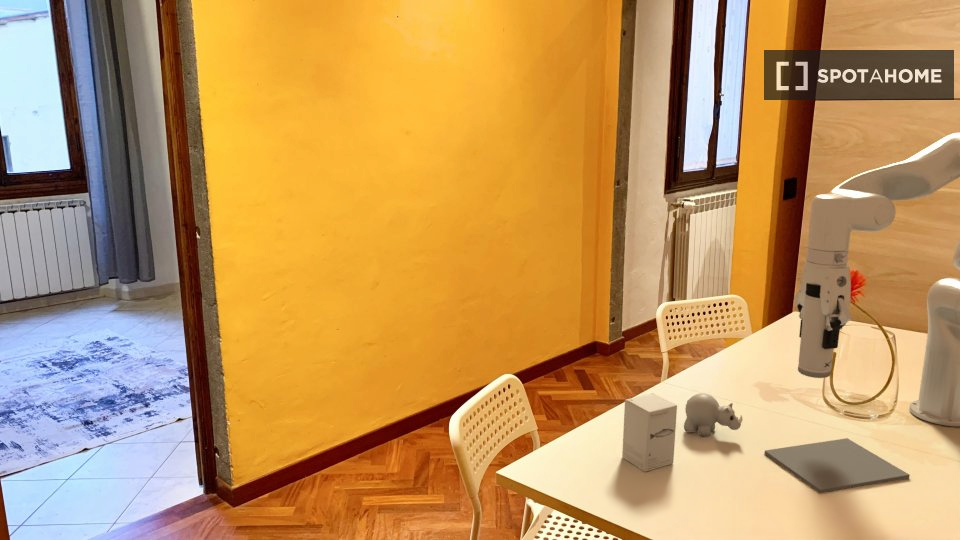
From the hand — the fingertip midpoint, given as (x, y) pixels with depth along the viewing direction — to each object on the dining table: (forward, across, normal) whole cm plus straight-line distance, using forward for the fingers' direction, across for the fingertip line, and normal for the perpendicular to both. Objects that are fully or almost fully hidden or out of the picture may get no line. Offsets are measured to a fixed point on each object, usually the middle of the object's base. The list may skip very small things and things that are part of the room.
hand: (818, 342), depth 150 cm
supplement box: (+22, 0, +37) cm, 43 cm away
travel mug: (+7, 0, 0) cm, 7 cm away
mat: (+22, -11, +3) cm, 24 cm away
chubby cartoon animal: (+22, +7, +18) cm, 29 cm away
